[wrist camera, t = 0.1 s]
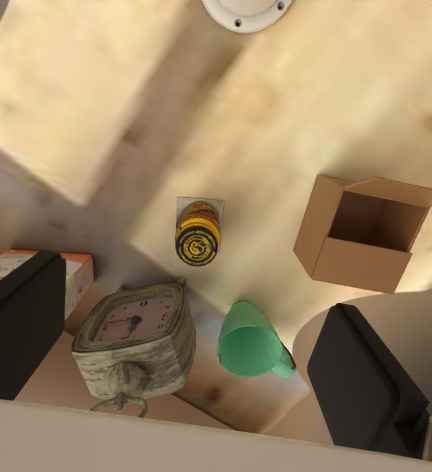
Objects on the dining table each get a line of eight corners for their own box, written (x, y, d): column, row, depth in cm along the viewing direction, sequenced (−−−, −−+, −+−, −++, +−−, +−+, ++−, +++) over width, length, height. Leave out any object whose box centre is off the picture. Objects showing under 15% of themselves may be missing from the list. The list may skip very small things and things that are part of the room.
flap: (344, 188, 36) (344, 186, 36) (434, 207, 37) (435, 205, 37) (375, 179, 30) (376, 176, 30) (483, 202, 30) (484, 199, 30)
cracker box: (93, 251, 50) (13, 334, 30) (95, 283, 52) (22, 380, 32) (7, 245, 49) (-131, 326, 30) (13, 278, 51) (-112, 373, 32)
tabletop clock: (190, 268, 51) (169, 392, 27) (201, 312, 54) (191, 457, 30) (108, 283, 52) (21, 415, 28) (124, 325, 55) (57, 476, 31)
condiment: (224, 200, 47) (227, 225, 35) (219, 250, 50) (220, 287, 38) (177, 196, 46) (165, 220, 35) (175, 246, 49) (163, 283, 38)
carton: (317, 174, 45) (344, 187, 36) (390, 189, 46) (435, 206, 37) (293, 250, 50) (311, 280, 40) (360, 262, 50) (393, 295, 41)
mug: (205, 316, 54) (203, 357, 45) (239, 278, 51) (244, 313, 42) (266, 355, 57) (276, 400, 48) (301, 321, 55) (319, 362, 45)
